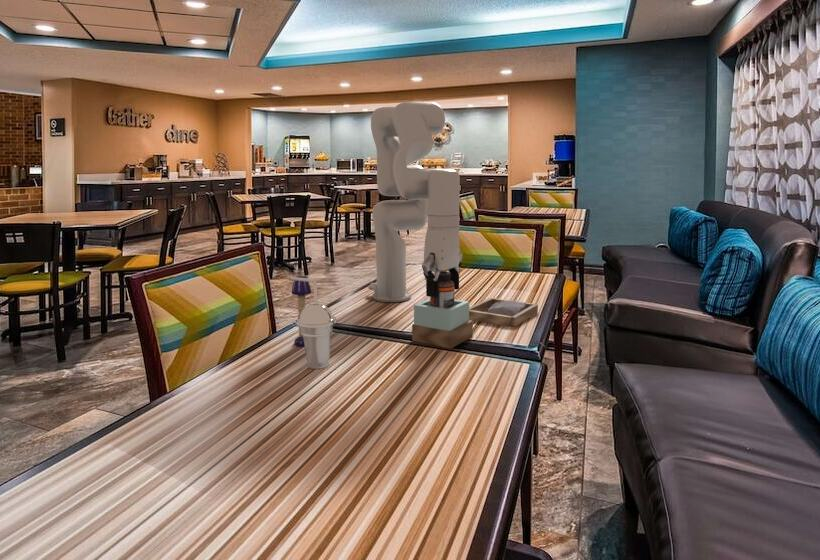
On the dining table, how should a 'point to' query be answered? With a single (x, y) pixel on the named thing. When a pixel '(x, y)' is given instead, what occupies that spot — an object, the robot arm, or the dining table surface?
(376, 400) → the dining table surface
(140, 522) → the dining table surface
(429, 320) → the tower top
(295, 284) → the toy lamp
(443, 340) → the tower base
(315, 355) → the cup with straw
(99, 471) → the dining table surface
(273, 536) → the dining table surface
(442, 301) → the supplement bottle
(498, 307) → the stone block
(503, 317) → the frame
